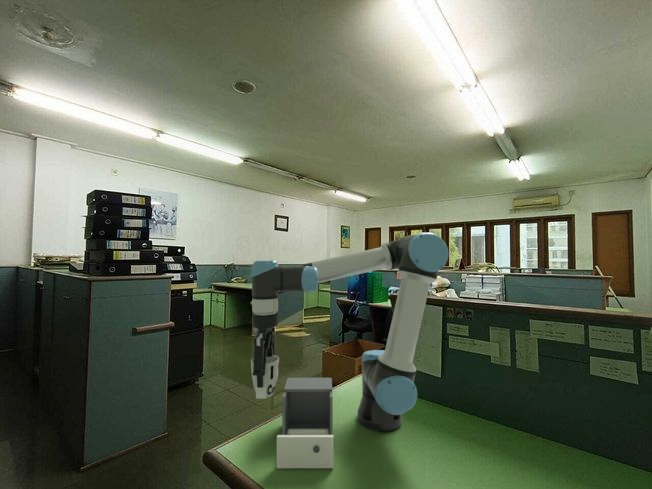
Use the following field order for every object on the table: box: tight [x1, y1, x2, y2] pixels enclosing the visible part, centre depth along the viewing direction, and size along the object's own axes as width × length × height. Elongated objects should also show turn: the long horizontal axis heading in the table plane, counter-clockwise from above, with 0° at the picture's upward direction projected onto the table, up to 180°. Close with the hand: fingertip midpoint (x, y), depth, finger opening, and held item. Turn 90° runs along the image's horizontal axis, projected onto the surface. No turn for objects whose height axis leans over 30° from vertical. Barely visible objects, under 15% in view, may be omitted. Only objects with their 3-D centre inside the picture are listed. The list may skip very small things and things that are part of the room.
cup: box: [250, 355, 280, 399], centre depth 90 cm, size 8×8×10 cm
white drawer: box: [276, 429, 335, 469], centre depth 88 cm, size 14×15×8 cm
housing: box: [281, 377, 334, 436], centre depth 97 cm, size 14×15×15 cm
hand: (265, 391), depth 89 cm, fingers closed on cup, 8 cm apart
